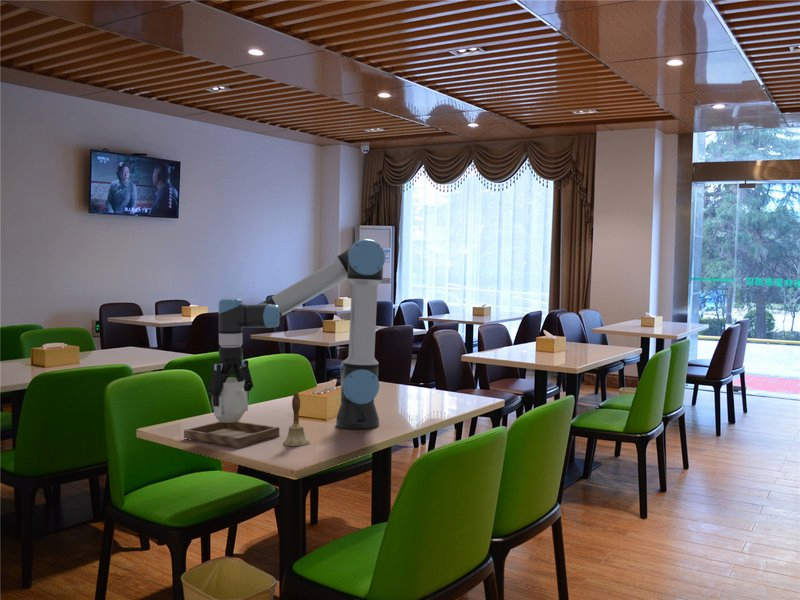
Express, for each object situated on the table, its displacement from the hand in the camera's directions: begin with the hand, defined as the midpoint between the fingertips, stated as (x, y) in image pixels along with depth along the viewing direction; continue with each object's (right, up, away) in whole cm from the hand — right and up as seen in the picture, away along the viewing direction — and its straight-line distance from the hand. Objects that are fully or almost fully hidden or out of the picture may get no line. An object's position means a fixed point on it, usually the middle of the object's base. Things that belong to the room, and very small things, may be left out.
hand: (231, 413), depth 241 cm
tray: (0, -8, 0) cm, 8 cm away
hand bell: (+22, -9, -8) cm, 25 cm away
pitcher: (0, -3, 0) cm, 3 cm away
